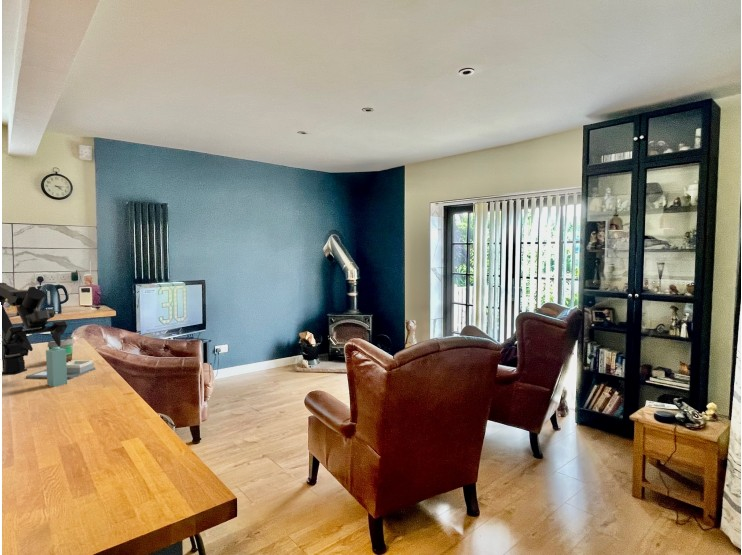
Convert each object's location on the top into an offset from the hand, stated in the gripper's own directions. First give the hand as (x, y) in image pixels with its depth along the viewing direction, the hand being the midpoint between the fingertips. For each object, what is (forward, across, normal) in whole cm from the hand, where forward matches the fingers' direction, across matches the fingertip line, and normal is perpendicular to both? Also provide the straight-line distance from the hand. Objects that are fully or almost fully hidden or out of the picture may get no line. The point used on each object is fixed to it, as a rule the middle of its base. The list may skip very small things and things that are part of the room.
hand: (46, 348), depth 165 cm
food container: (-10, +19, +29) cm, 36 cm away
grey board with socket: (+4, +8, +14) cm, 17 cm away
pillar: (+14, 0, +4) cm, 15 cm away
